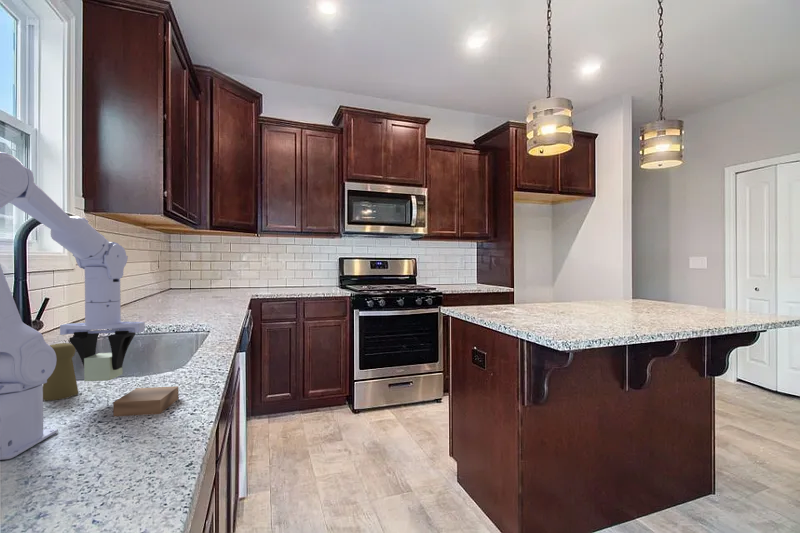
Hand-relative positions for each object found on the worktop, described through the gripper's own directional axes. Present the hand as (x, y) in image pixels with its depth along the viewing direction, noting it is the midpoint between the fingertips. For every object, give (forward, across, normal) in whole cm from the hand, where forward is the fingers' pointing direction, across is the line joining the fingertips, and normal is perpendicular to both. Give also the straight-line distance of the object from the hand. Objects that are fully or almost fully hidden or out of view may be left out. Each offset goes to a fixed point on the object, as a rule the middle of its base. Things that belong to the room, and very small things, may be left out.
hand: (103, 369), depth 79 cm
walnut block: (+7, -10, +4) cm, 13 cm away
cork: (+7, +12, -6) cm, 15 cm away
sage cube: (+2, 0, 0) cm, 2 cm away
